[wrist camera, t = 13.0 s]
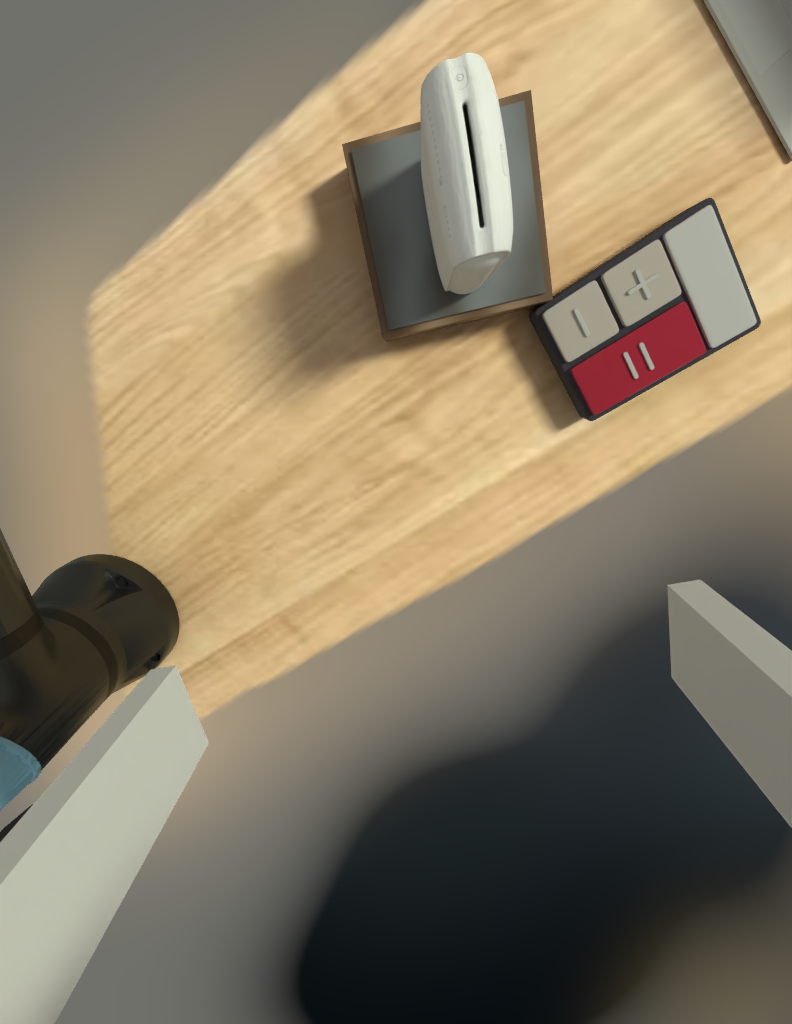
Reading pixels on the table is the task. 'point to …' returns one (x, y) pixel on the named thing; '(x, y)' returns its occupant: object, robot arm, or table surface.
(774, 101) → the laptop
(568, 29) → the table surface
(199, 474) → the table surface
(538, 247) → the mirror
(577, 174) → the table surface
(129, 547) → the table surface
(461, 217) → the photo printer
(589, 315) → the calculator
